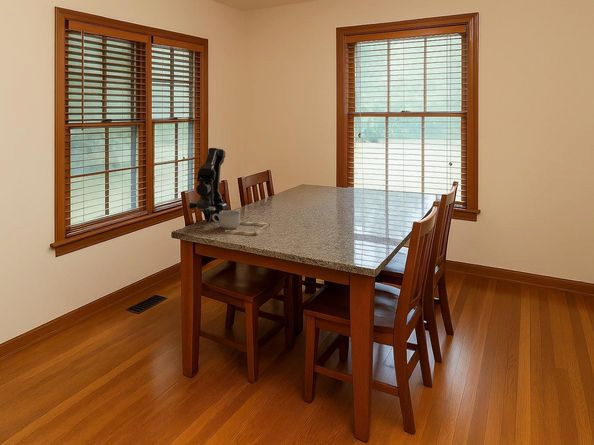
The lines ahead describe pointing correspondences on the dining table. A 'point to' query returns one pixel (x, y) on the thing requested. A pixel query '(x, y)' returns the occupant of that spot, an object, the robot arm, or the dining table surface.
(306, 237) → the dining table surface
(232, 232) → the frame
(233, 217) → the teacup
